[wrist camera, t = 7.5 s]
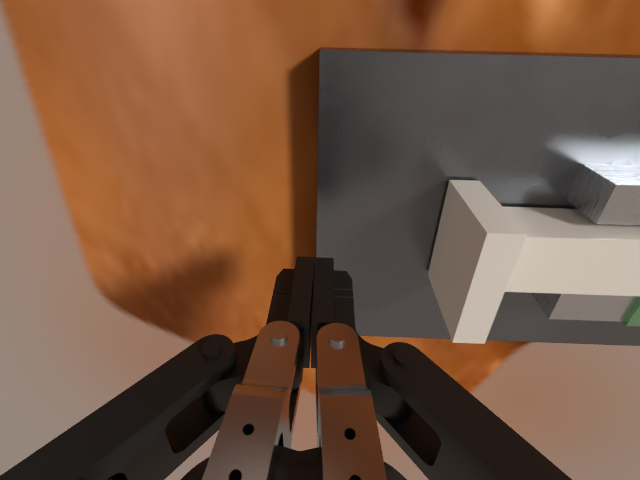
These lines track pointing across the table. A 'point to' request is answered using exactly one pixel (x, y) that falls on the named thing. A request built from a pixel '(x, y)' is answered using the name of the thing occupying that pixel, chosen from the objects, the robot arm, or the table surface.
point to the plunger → (521, 257)
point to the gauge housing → (471, 174)
